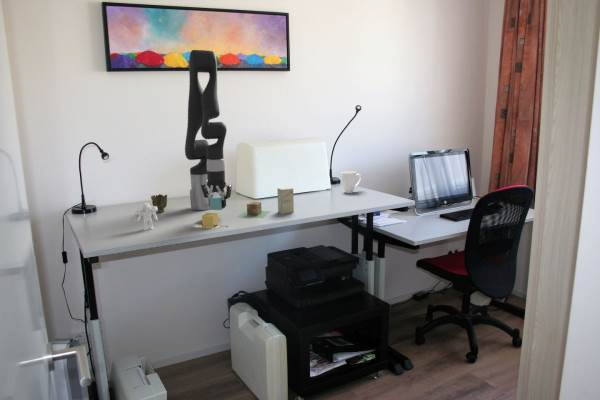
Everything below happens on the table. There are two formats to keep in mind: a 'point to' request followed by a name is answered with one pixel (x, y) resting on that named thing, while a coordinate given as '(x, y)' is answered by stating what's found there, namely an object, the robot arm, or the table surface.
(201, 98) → the robot arm
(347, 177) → the mug
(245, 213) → the plate
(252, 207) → the walnut brick
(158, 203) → the cup
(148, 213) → the flower shoulder figurine
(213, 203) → the teal brick
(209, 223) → the mustard brick
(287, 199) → the skincare box
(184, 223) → the table surface
